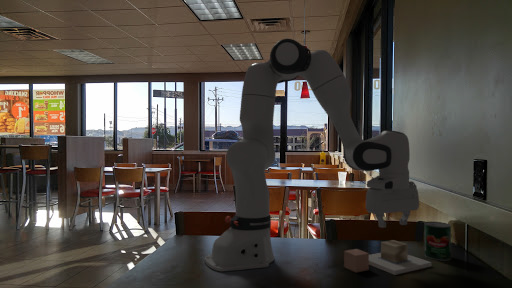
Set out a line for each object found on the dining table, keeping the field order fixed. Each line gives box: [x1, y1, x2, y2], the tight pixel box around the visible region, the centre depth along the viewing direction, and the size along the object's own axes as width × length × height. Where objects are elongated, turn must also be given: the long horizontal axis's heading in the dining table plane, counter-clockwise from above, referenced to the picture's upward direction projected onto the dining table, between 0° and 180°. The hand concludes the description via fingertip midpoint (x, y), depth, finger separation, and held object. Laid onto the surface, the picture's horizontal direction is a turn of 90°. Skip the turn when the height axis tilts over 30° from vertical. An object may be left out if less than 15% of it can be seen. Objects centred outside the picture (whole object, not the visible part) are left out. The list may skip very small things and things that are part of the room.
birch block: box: [380, 239, 409, 263], centre depth 107 cm, size 6×6×5 cm
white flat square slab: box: [369, 252, 433, 276], centre depth 107 cm, size 16×14×1 cm
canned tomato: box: [423, 220, 452, 262], centre depth 113 cm, size 8×8×11 cm
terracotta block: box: [343, 248, 370, 273], centre depth 102 cm, size 5×5×5 cm
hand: (392, 225), depth 107 cm, fingers open, 8 cm apart
